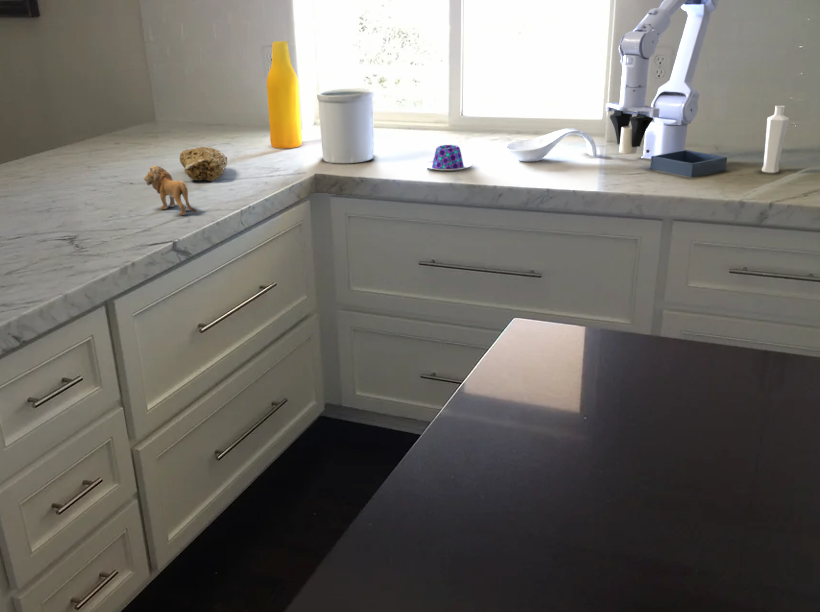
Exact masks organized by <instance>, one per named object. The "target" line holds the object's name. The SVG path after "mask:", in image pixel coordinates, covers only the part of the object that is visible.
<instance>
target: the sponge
mask: <svg viewBox="0 0 820 612" xmlns="http://www.w3.org/2000/svg"><path fill="white" fill-rule="evenodd" d="M179 163H180V164H181V165H182V167H183V168H184V172H185V174H186V176H187V177H188V178H190V179H191V180H195V181H208V182H213V181H216V180H218V179H219V178H221V176H222V175H223V174H224V173H225V168H226V167H227V165H228V157H227V156H226V155H225V154H224V153H223V152H221V151H220V150H219V149H216V148H213V147H206V146H200V147H195V148H191V149H185V150H183V151H181V153H180V154H179Z"/></svg>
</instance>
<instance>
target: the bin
mask: <svg viewBox="0 0 820 612" xmlns="http://www.w3.org/2000/svg"><path fill="white" fill-rule="evenodd" d="M727 163H728V156H724V155H717V154H712V153H711V154H710V153H705V152H699V151H693V150H687V149H685V150H683V151H677V152H672V153H666V154H661V155H656V156H651V159H650V167H649V170H654V171H659V172H664V173H668V174H673V175H677V176H683V177H688V178H694V177H699V176H703V175H704V176H705V175H708V174H709V175H710V174H715V173H718V172H719V173H720V172H724V171H726V170H727Z"/></svg>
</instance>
